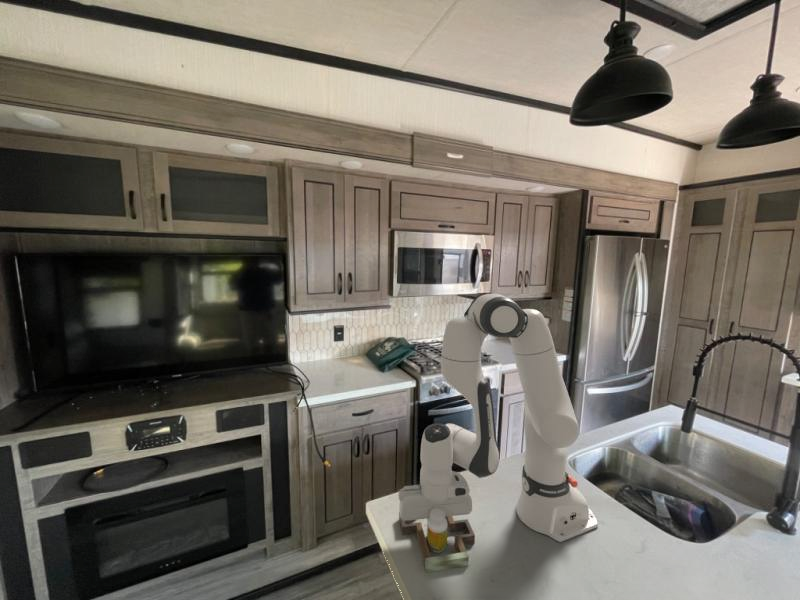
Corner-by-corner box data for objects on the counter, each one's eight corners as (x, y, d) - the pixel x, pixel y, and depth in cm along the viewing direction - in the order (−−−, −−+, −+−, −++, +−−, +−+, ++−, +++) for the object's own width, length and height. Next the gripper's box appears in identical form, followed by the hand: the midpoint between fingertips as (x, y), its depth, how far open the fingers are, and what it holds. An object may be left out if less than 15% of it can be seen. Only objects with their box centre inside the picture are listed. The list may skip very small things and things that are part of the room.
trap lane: (457, 505, 103) (457, 498, 103) (483, 562, 84) (483, 554, 84) (398, 513, 100) (398, 506, 100) (410, 575, 81) (410, 566, 81)
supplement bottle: (442, 557, 86) (443, 525, 84) (423, 547, 89) (424, 517, 87) (449, 540, 91) (450, 510, 89) (431, 532, 93) (432, 502, 91)
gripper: (400, 495, 86) (400, 541, 88) (475, 488, 89) (473, 533, 91) (397, 479, 92) (397, 522, 95) (467, 472, 95) (466, 515, 97)
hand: (435, 527), depth 93 cm, fingers closed, pressing on supplement bottle
